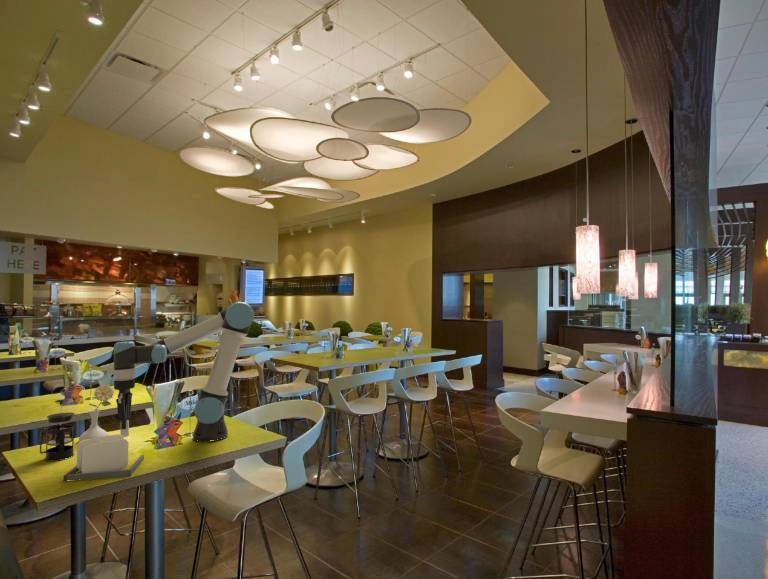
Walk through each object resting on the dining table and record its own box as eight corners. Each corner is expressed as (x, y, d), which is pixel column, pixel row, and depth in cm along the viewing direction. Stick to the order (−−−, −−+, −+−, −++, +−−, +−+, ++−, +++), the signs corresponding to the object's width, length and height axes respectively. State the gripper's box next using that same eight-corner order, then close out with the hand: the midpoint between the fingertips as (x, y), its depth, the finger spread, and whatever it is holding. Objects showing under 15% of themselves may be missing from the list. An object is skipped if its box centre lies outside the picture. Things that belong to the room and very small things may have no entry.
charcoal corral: (143, 460, 174) (144, 454, 174) (130, 475, 158) (130, 470, 158) (83, 464, 169) (83, 459, 169) (63, 481, 153) (63, 475, 153)
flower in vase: (77, 446, 192) (79, 388, 193) (79, 439, 202) (81, 384, 203) (112, 441, 198) (113, 385, 199) (113, 435, 208) (114, 382, 209)
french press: (73, 451, 185) (75, 396, 186) (77, 456, 178) (79, 399, 179) (38, 457, 177) (40, 400, 178) (41, 464, 170) (42, 403, 171)
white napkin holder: (79, 480, 154) (80, 446, 154) (76, 471, 162) (77, 439, 163) (127, 470, 164) (128, 438, 164) (122, 462, 172) (123, 432, 172)
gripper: (119, 377, 188) (119, 432, 187) (108, 382, 175) (108, 441, 174) (139, 376, 190) (139, 431, 189) (129, 381, 177) (129, 440, 176)
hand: (124, 436), depth 182 cm, fingers closed
